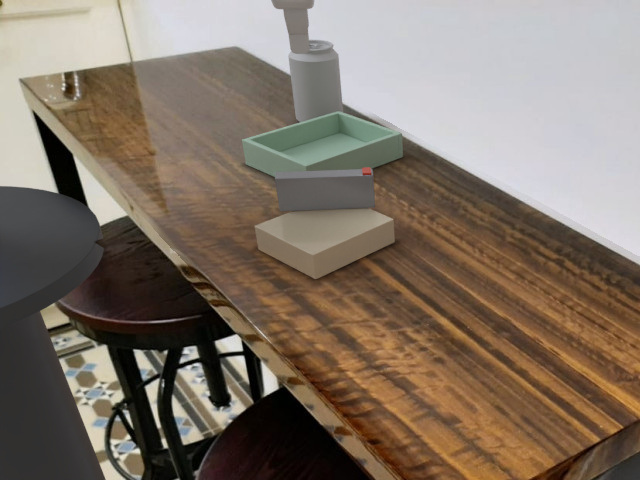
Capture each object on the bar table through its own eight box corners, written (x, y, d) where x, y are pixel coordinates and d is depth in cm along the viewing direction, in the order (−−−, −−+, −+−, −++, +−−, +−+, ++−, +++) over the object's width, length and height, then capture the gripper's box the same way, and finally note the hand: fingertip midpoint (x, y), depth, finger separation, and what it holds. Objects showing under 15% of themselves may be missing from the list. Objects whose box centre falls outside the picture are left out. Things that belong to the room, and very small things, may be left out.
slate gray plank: (279, 211, 86) (274, 176, 83) (280, 204, 88) (275, 170, 85) (375, 207, 88) (373, 173, 85) (374, 200, 89) (372, 166, 87)
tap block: (315, 279, 80) (312, 255, 78) (258, 249, 85) (253, 225, 83) (395, 242, 88) (393, 218, 86) (338, 216, 92) (335, 193, 91)
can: (311, 112, 123) (303, 35, 116) (352, 118, 121) (346, 40, 114) (287, 126, 117) (277, 45, 110) (329, 133, 116) (321, 52, 108)
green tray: (308, 192, 98) (305, 166, 96) (245, 164, 104) (241, 139, 102) (403, 157, 109) (402, 132, 107) (340, 133, 116) (338, 110, 113)
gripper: (250, -134, 74) (271, 16, 82) (237, -116, 58) (264, 68, 67) (315, -132, 75) (329, 15, 84) (319, -114, 59) (336, 66, 68)
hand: (300, 39), depth 75 cm, fingers open, 8 cm apart
